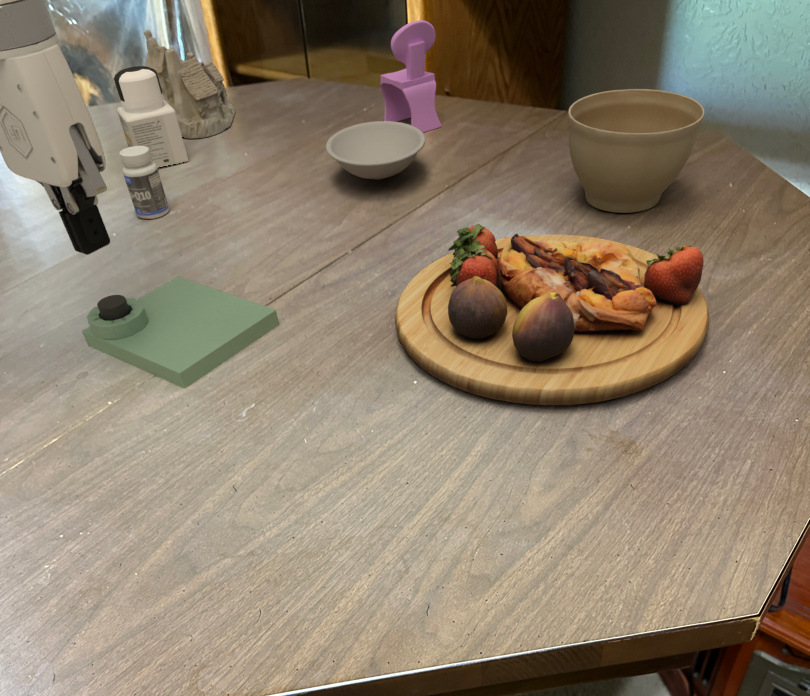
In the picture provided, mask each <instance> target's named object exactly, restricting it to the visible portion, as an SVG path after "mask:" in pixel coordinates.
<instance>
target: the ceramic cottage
mask: <svg viewBox="0 0 810 696" xmlns="http://www.w3.org/2000/svg"><path fill="white" fill-rule="evenodd" d="M143 35H144V37H145V42H146V43H145V44H146V48H147V55H146V61H145V63H144V66H147V67H150V68H153V69H154V70H155V71H156V72H157V74H158V78H159V82H160V85H161V89H162V93H163V96H164V100H165V101H166V102H167V103H168V104H169V105H170V106H171V107H172V108H173V109H174V110H175V112H176V116H177V119H178V123H179V127H180V131H181V134H182V137H184V138H183V139H189V140H191V139H203V138H204V139H205V138H209V137H213V136H216V135H218V134H220V133H222V132H224V131H226V129H228V128H230V127H231V125H232V123H233V121H234V117H235V115H236V113H237V110H236V108H235V105H233V104H232V103H230V101H229V100H228V98H227V97H228V94H227V89H226V87H225V86H226V85H225V84H224V83H223V82H224V81H225V78H224V77H223V74H222V73H221V72H220V70H219V69H218V68H217V66H216V64H214V62H212V61H209V62H206V63H204V62H203V61H199V59H198V57H196V56H195V54H194V52H187V53H186V60H183V59H182V58H181V59H180V57H179V56H178V52H177V50H175V48H173V47H169V48H167V47H166V46H164V45H163V46H162V45H161V46H160V44H159V43H158V41H157V38H155V37H153V34H152V31H151V30H150V29H146V30H144V31H143Z"/></svg>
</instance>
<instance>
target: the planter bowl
mask: <svg viewBox="0 0 810 696" xmlns="http://www.w3.org/2000/svg"><path fill="white" fill-rule="evenodd" d="M704 108H705V107H704V106H703V105H702V104H701V103H700V102H698V101H697V100H696V99H694V98H692V97H689V96H687V95H685V94H680V93H676V92H673V91H667V90H660V89H650V88H649V89H648V88H629V89H615V90H614V89H613V90H607V91H606V90H605V91H601V92H597V93H591V94H589V95H586V96H583V97H581V98H579V99H577V100H576V101H574V102H573V103H572V104H571V105H570V106H569V108H568V113H567V119H568V120H567V121H568V125H569V126H568V147H569V154H570V159H571V163H572V166H573V170H574V172H575V174H576V177H577V179H578V181H579V183H580V184H581V186H582V188H583V190H584V194H585V195H584V196H585V200H586V202H587V203H588V204H589V205H590V206H592V207H593V208H596V209H598V210H601V211H605V212H609V213H618V214H631V213H639V212H642V211H646V210H649V209H652V208H654V207H655V206H656V205H657V204H658V203H659V201H660V198H661V196H662V193H663V192H665V191H666V190H667V189H668V188H669V186H671V184H672V183H673V182H674V181H675V180H676V179H677V177H678V176H679V174H680V173H681V171H682V170H683V169H684V167H685V165H686V163H687V161H688V159H689V158H690V156H691V154H692V152H693V149H694V147H695V144H696V141H697V138H698V134H699V130H700V127H701V125H702V123H703V121H704V117H705V109H704Z"/></svg>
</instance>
